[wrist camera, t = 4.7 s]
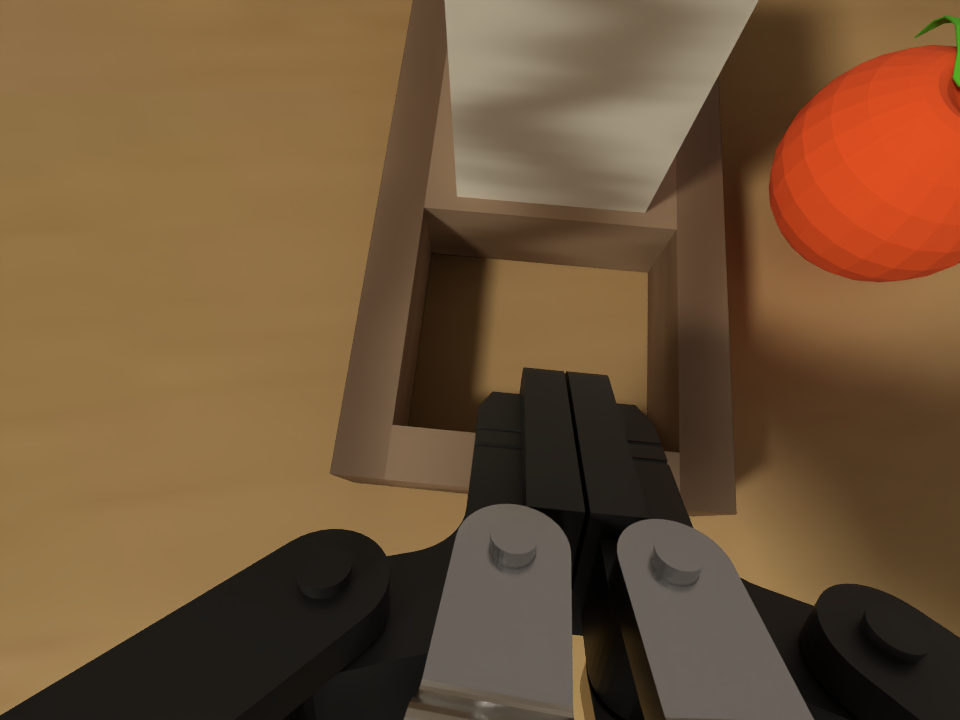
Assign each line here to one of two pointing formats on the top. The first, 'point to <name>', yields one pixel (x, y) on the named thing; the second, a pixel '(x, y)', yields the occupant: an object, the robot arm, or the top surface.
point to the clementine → (876, 168)
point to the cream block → (580, 94)
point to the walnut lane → (543, 239)
